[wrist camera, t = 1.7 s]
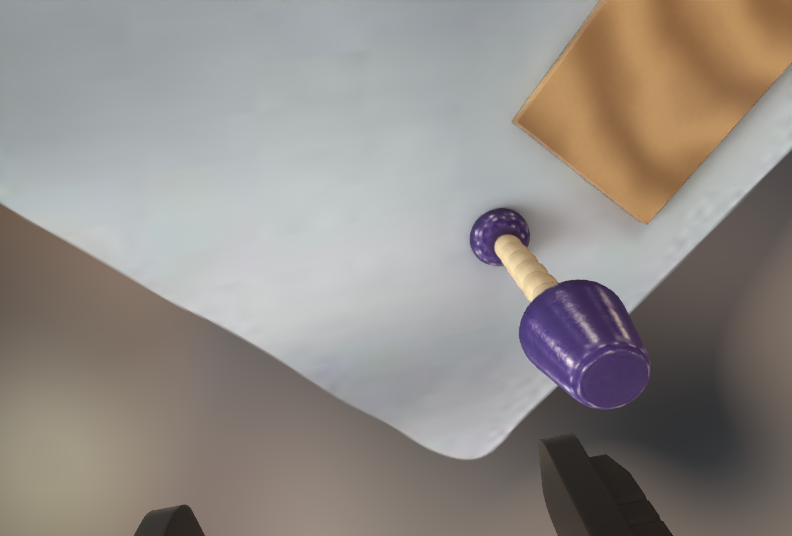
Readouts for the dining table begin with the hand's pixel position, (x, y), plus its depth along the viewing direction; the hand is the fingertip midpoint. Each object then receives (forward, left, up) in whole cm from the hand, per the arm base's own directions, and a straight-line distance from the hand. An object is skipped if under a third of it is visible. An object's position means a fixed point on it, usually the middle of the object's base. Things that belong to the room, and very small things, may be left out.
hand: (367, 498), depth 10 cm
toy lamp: (+4, +8, -22) cm, 24 cm away
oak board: (-4, +23, -22) cm, 32 cm away
